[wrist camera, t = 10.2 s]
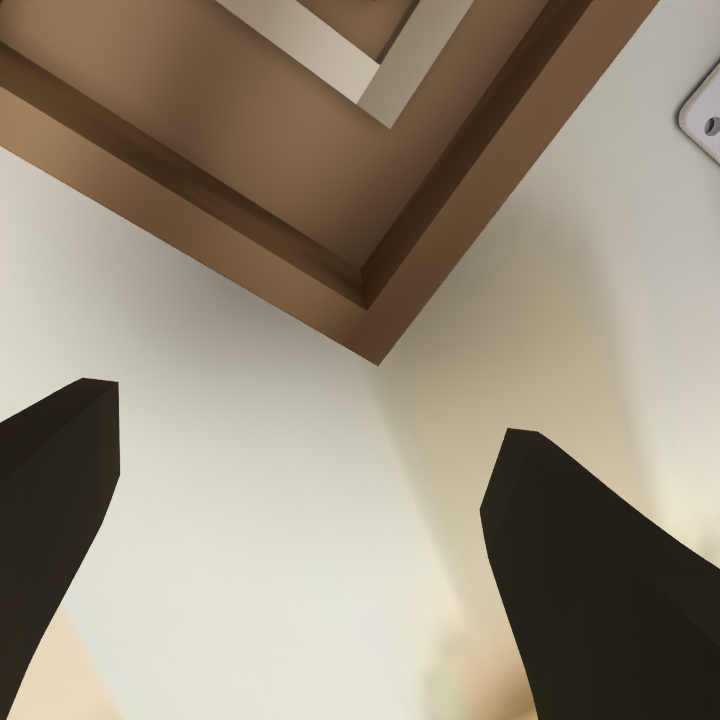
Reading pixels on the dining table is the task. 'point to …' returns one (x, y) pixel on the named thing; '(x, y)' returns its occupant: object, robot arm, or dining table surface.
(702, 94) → the robot arm
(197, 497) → the dining table surface
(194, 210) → the box
